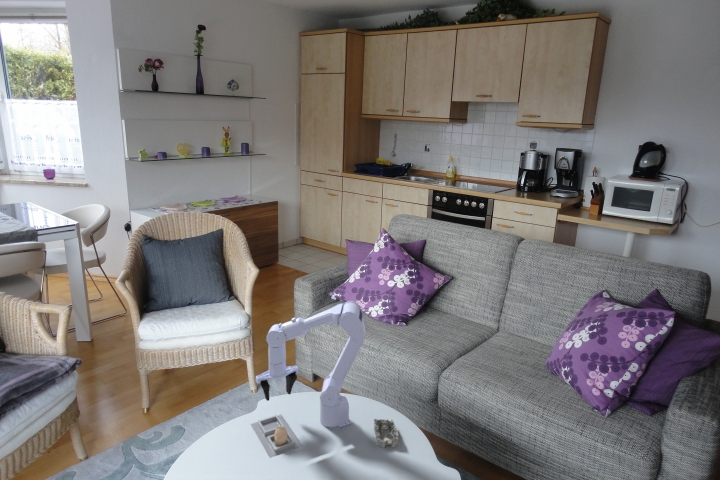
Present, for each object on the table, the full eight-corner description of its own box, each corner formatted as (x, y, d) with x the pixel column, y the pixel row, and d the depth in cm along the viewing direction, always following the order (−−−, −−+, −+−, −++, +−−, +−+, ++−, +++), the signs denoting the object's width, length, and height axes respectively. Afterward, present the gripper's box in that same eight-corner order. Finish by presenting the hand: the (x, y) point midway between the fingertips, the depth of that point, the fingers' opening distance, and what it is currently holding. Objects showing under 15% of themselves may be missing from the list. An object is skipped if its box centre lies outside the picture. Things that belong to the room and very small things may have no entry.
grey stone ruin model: (399, 448, 152) (399, 437, 151) (375, 448, 152) (376, 438, 151) (394, 426, 163) (395, 416, 161) (372, 426, 162) (373, 416, 161)
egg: (284, 437, 154) (284, 422, 152) (289, 444, 151) (289, 429, 149) (272, 441, 152) (272, 426, 150) (277, 448, 149) (277, 433, 147)
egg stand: (281, 416, 165) (281, 411, 165) (302, 448, 151) (302, 442, 150) (250, 426, 160) (250, 421, 159) (269, 460, 145) (269, 454, 145)
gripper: (292, 349, 165) (293, 384, 168) (252, 359, 157) (253, 395, 161) (301, 359, 159) (301, 394, 162) (259, 369, 151) (260, 406, 155)
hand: (277, 395), depth 161 cm, fingers open, 7 cm apart
